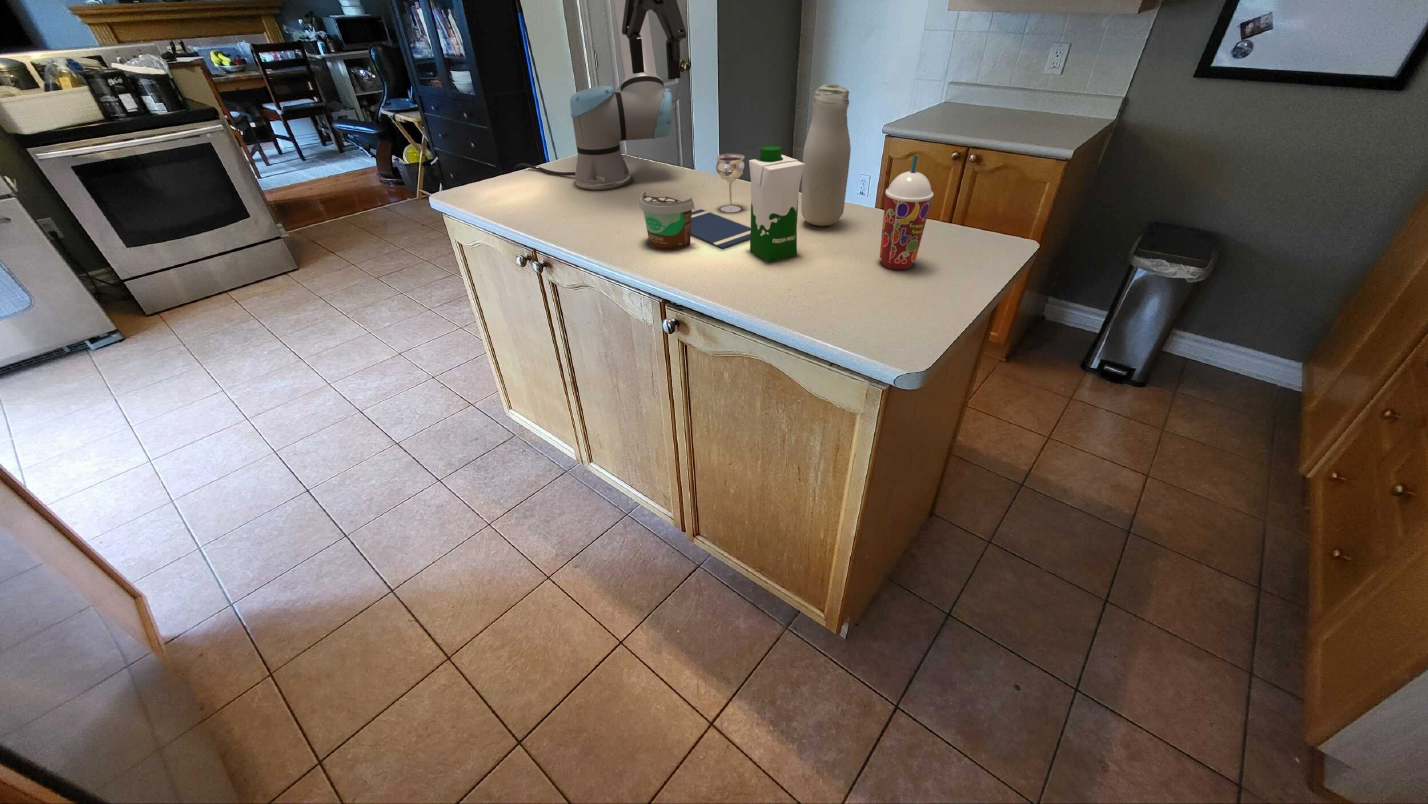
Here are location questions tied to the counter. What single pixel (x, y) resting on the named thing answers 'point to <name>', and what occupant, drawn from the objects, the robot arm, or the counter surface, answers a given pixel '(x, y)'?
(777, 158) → the milk carton
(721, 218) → the cloth
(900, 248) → the smoothie
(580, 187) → the robot arm
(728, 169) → the wineglass
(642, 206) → the food container
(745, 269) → the counter surface
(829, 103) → the glass bottle
